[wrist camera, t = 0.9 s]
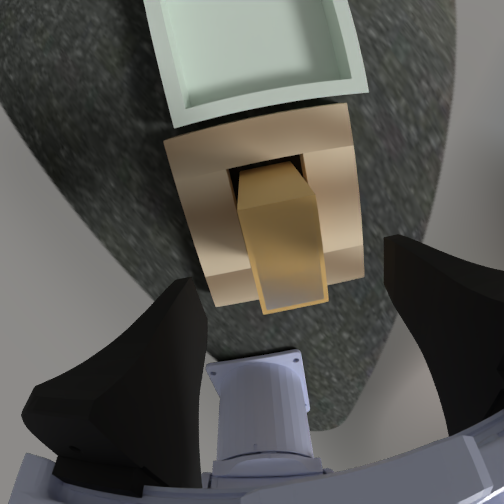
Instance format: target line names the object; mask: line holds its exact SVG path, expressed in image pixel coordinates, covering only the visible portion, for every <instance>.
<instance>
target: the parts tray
mask: <svg viewBox="0 0 504 504" xmlns="http://www.w3.org/2000/svg"><path fill="white" fill-rule="evenodd" d="M143 1H144V5H145V10H146V15H147V19H148V24H149V28H150V33H151V37H152V42H153V46H154V50H155V54H156V59H157V63H158V67H159V71H160V75H161V79H162V83H163V87H164V91H165V95H166V99H167V103H168V107H169V111H170V115H171V119H172V122H173V126H174V129H175V128H178V127H181V126H185V125H188V124H192V123H196V122H199V121H203V120H207V119H211V118H215V117H219V116H223V115H227V114H232V113H236V112H241V111H245V110H250V109H255V108H260V107H265V106H270V105H276V104H281V103H287V102H293V101H299V100H306V99H313V98H320V97H328V96H337V95H346V94H356V93H368V92H369V90H368V85H367V79H366V74H365V69H364V65H363V60H362V55H361V51H360V47H359V42H358V38H357V34H356V30H355V26H354V23H353V19H352V15H351V12H350V8H349V5H348V1H347V0H143Z"/></svg>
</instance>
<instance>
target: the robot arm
mask: <svg viewBox="0 0 504 504" xmlns="http://www.w3.org/2000/svg"><path fill="white" fill-rule="evenodd" d="M384 285H385V287H386V290H387V292H388V294H389V296H390V299H391V301H392V303H393V305H394V306H395V308H396V310H397V311H398V313H399V315H400V316H401V318H402V319H403V321H404V323H405V324H406V326H407V327H408V329H409V330H410V332H411V334H412V335H413V337H414V339H415V341H416V342H417V344H418V346H419V348H420V349H421V352H422V353H423V355H424V358H425V360H426V363H427V365H428V367H429V370H430V372H431V375H432V378H433V381H434V383H435V386H436V389H437V392H438V395H439V398H440V402H441V405H442V409H443V412H444V416H445V419H446V424H447V429H448V434H449V437H447V438H444V439H441V440H437V441H434V442H432V443H429V444H427V445H424V446H421V447H419V448H416V449H414V450H411V451H408V452H405V453H402V454H399V455H396V456H393V457H390V458H387V459H384V460H380V461H377V462H374V463H370V464H367V465H363V466H360V467H355V468H351V469H348V470H343V471H339V472H334V471H333V470H331V469H329V468H326V469H322V463H321V458H314V456H313V450H312V443H311V437H310V431H309V425H308V419H307V413H306V412H308V411H309V410H310V406H309V399H308V393H307V387H306V380H305V374H304V368H303V362H302V356H301V352H300V350H297V349H294V350H288V351H283V352H278V353H272V354H266V355H261V356H255V357H248V358H242V359H235V360H229V361H221V362H214V363H209V364H207V365H206V371H207V373H208V375H209V377H210V379H211V381H212V383H213V385H214V387H215V389H216V391H217V393H218V395H219V397H220V406H219V424H218V443H217V461H213V472H212V473H210V472H203V473H202V474H201V469H200V453H199V395H200V386H201V380H202V373H203V367H204V361H205V354H206V347H207V332H208V326H207V323H208V319H207V317H206V314H205V312H204V309H203V306H202V304H201V301H200V299H199V296H198V293H197V291H196V288H195V285H194V283H193V280H192V277H188V278H182V279H177V280H175V281H174V282H173V283H172V284H171V285H170V286H169V287H168V288H167V289H166V290H165V291H164V292H163V293H162V294H161V295H160V296H159V297H158V298H157V300H156V301H155V302H154V303H153V304H152V305H151V306H150V307H149V308H148V309H147V310H146V311H145V312H144V313H143V314H142V315H141V316H140V317H139V318H138V319H137V320H136V321H135V322H134V323H133V324H132V325H131V326H130V327H129V328H128V329H127V330H126V331H125V332H123V333H122V334H121V335H120V336H119V337H118V338H116V339H115V340H114V341H113V342H111V343H110V344H109V345H108V346H106V347H105V348H103V349H102V350H101V351H99V352H98V353H96V354H95V355H93V356H92V357H91V358H89V359H88V360H86V361H85V362H83V363H81V364H79V365H78V366H76V367H74V368H73V369H71V370H69V371H67V372H65V373H63V374H61V375H59V376H57V377H55V378H53V379H51V380H48V381H46V382H44V383H42V384H39V385H37V386H35V387H34V389H33V391H32V393H31V395H30V397H29V399H28V401H27V403H26V405H25V407H24V409H23V411H22V414H21V416H22V419H23V422H24V424H25V425H26V427H27V428H28V429H29V430H30V431H31V433H32V434H34V435H35V436H36V437H37V438H38V439H39V440H40V441H41V442H42V443H44V444H45V445H46V446H47V447H48V448H49V449H51V450H52V451H53V452H54V453H55V454H57V455H58V457H57V460H56V463H55V462H53V461H51V460H49V459H47V458H44V457H40V456H37V455H33V454H30V453H26V454H25V456H24V459H23V462H22V464H21V467H20V470H19V473H18V475H17V478H16V481H15V484H14V487H13V490H12V493H11V497H10V500H9V503H8V504H504V271H502V270H497V269H493V268H488V267H485V266H481V265H478V264H475V263H471V262H468V261H465V260H462V259H460V258H457V257H454V256H452V255H449V254H447V253H444V252H442V251H439V250H437V249H434V248H432V247H430V246H428V245H425V244H423V243H421V242H418V241H416V240H413V239H411V238H408V237H405V236H402V235H399V234H397V235H393V236H388V237H384ZM295 358H297V359H295Z"/></svg>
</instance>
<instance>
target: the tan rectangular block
mask: <svg viewBox="0 0 504 504" xmlns="http://www.w3.org/2000/svg"><path fill="white" fill-rule="evenodd" d="M237 213H238V217H239V221H240V225H241V229H242V233H243V237H244V241H245V245H246V248H247V252H248V256H249V260H250V264H251V268H252V272H253V276H254V280H255V284H256V288H257V292H258V296H259V300H260V304H261V307H262V311H263V315H264V314H269V313H275V312H280V311H285V310H290V309H295V308H300V307H305V306H309V305H314V304H319V303H323V302H328V301H329V299H328V289H327V279H326V270H325V261H324V252H323V244H322V236H321V229H320V221H319V214H318V207H317V200H316V195H315V193H314V192H313V190H312V189H311V188H310V186H309V185H308V184H307V182H306V181H305V180H304V178H303V177H302V176H301V175H300V173H299V172H298V171H297V169H296V168H295V167H294V165H293V164H292V163H291V162H290V161H287V162H282V163H277V164H272V165H267V166H262V167H257V168H253V169H248V170H244V171H240V176H239V189H238V204H237Z"/></svg>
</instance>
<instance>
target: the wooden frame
mask: <svg viewBox="0 0 504 504" xmlns="http://www.w3.org/2000/svg"><path fill="white" fill-rule="evenodd" d="M163 142H164V146H165V150H166V153H167V157H168V160H169V164H170V167H171V170H172V174H173V177H174V181H175V184H176V187H177V191H178V194H179V197H180V201H181V204H182V207H183V210H184V214H185V217H186V220H187V223H188V226H189V229H190V232H191V236H192V239H193V242H194V245H195V248H196V251H197V254H198V257H199V260H200V263H201V266H202V269H203V272H204V275H205V278H206V281H207V283H208V286H209V289H210V292H211V295H212V298H213V301H214V304H215V306H216V307H219V306H225V305H231V304H236V303H241V302H247V301H252V300H257V299H259V296H258V292H257V288H256V284H255V280H254V276H253V272H252V268H251V264H250V260H249V256H248V252H247V248H246V245H245V241H244V237H243V233H242V229H241V225H240V221H239V217H238V213H237V201H236V197H235V193H234V189H233V185H232V181H231V176H230V172H229V169H230V168H234V167H238V166H243V165H247V164H252V163H257V162H262V161H266V160H271V159H276V158H281V157H287V156H292V155H297V154H299V156H300V161H301V167H302V173H303V178H304V180H305V181H306V182H307V184H308V185H309V186H310V188H311V189H312V190H313V192H314V193H315V195H316V200H317V207H318V214H319V221H320V229H321V236H322V244H323V252H324V261H325V270H326V279H327V285H331V284H335V283H340V282H344V281H349V280H353V279H357V278H362V277H364V256H363V237H362V222H361V209H360V197H359V187H358V178H357V169H356V161H355V153H354V146H353V139H352V132H351V125H350V119H349V113H348V107H347V103H334V104H326V105H319V106H312V107H305V108H299V109H292V110H287V111H281V112H275V113H270V114H265V115H260V116H255V117H250V118H245V119H241V120H236V121H232V122H228V123H223V124H219V125H215V126H211V127H207V128H203V129H200V130H196V131H192V132H188V133H185V134H181V135H178V136H174V137H171V138H168V139H166V140H164V141H163Z"/></svg>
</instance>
